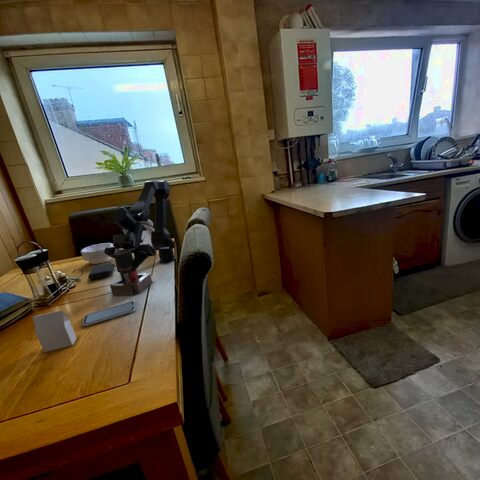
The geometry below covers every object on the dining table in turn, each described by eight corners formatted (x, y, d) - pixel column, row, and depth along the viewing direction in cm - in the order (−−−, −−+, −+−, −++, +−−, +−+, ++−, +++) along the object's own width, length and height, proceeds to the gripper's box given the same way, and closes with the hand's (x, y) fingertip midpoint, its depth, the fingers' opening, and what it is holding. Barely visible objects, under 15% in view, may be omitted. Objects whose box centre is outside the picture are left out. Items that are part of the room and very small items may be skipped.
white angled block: (72, 345, 76) (59, 313, 73) (44, 352, 74) (29, 320, 71) (76, 337, 79) (64, 307, 76) (50, 344, 78) (35, 313, 74)
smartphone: (85, 314, 90) (134, 300, 96) (85, 317, 91) (134, 302, 96) (82, 325, 84) (134, 309, 90) (83, 327, 84) (135, 311, 90)
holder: (128, 282, 115) (125, 273, 114) (153, 281, 113) (151, 272, 112) (110, 295, 105) (107, 286, 103) (138, 294, 103) (135, 285, 101)
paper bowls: (107, 264, 142) (102, 250, 139) (79, 267, 143) (73, 253, 140) (122, 254, 156) (118, 241, 153) (96, 257, 157) (91, 244, 154)
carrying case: (115, 276, 124) (117, 266, 137) (113, 269, 123) (115, 260, 136) (88, 282, 121) (93, 271, 134) (86, 275, 120) (91, 265, 133)
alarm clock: (136, 260, 143) (124, 218, 135) (127, 259, 147) (115, 218, 140) (162, 250, 155) (153, 211, 148) (153, 249, 160) (143, 211, 152)
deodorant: (125, 293, 105) (113, 256, 100) (124, 287, 110) (113, 252, 105) (141, 288, 108) (131, 252, 102) (140, 283, 113) (130, 248, 107)
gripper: (99, 227, 105) (88, 264, 99) (144, 223, 102) (135, 262, 96) (118, 240, 116) (109, 275, 109) (159, 237, 112) (152, 273, 106)
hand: (125, 271), depth 105 cm, fingers closed on deodorant, 6 cm apart
